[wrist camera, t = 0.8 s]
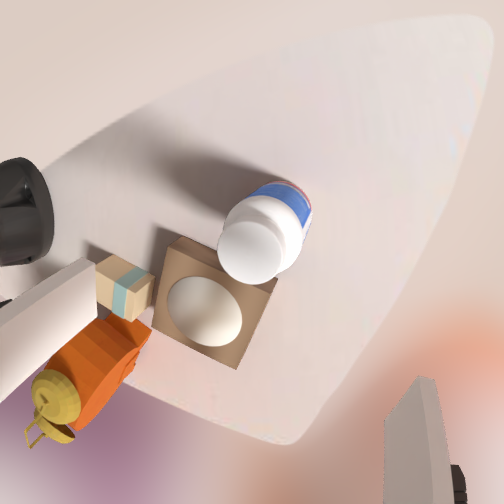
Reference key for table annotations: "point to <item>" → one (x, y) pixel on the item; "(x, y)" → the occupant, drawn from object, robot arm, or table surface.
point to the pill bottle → (264, 232)
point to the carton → (123, 287)
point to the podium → (207, 303)
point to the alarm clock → (85, 375)
